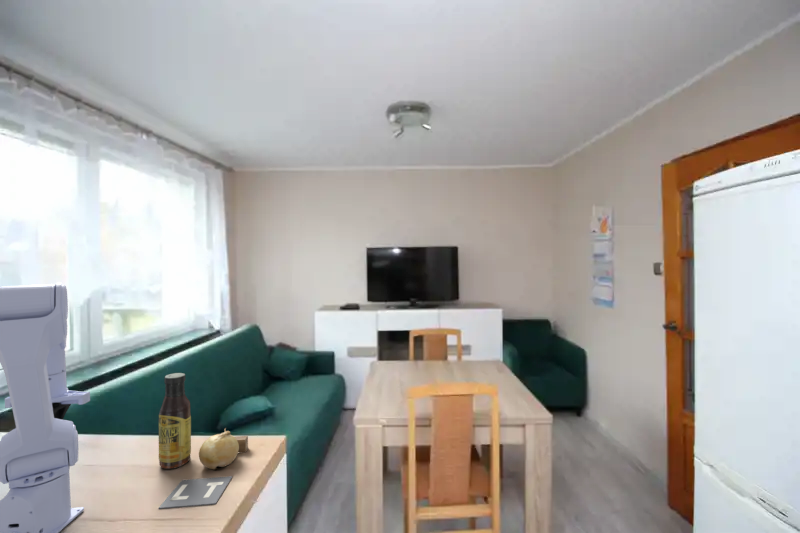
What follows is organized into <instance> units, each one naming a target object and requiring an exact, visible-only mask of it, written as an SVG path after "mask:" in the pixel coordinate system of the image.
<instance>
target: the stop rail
mask: <svg viewBox="0 0 800 533" xmlns="http://www.w3.org/2000/svg"><path fill="white" fill-rule="evenodd" d="M234 437H235V438H236V440H237V441H238V444H239V451H238V452H242V453H246V452H247V451H248V450H249V436H248V435H239V436H234Z"/></svg>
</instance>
